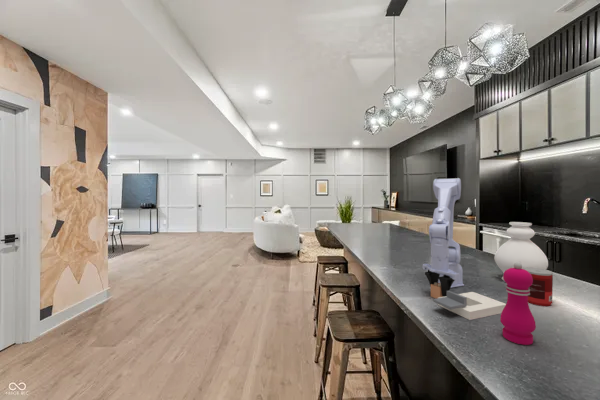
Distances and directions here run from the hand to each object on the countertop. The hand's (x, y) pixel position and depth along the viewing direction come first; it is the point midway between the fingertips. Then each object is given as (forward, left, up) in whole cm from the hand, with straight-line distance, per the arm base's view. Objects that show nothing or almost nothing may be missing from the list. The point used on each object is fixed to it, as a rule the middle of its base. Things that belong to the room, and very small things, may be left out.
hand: (439, 293), depth 100 cm
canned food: (-28, +15, -2) cm, 32 cm away
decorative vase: (-46, -2, -2) cm, 46 cm away
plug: (0, 0, -1) cm, 1 cm away
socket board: (-2, +11, -1) cm, 11 cm away
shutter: (+7, +11, +1) cm, 13 cm away
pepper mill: (+4, +29, -2) cm, 29 cm away
